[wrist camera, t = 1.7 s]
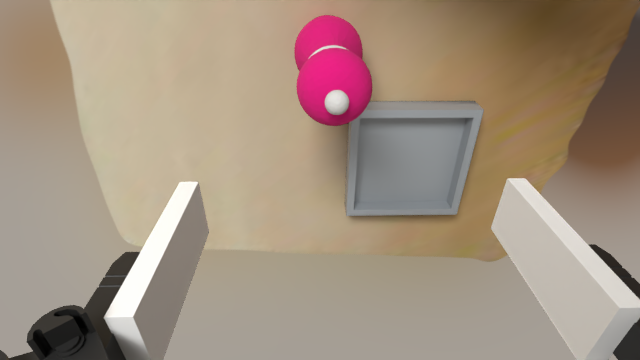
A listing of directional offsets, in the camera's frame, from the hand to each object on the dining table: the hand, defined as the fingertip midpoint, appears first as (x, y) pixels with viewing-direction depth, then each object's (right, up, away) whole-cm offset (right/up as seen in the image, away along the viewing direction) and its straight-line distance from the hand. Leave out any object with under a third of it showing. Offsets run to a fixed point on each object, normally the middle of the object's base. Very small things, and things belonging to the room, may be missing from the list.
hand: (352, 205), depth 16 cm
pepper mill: (-1, +17, +27) cm, 32 cm away
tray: (+10, +4, +35) cm, 36 cm away
